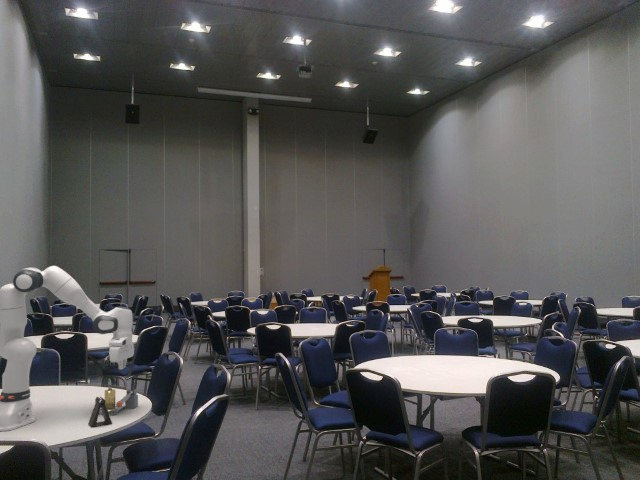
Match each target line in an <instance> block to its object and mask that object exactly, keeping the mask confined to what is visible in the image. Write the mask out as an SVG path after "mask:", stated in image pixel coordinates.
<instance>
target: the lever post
mask: <svg viewBox="0 0 640 480" xmlns="http://www.w3.org/2000/svg"><path fill="white" fill-rule="evenodd" d="M129 391H131V390H130V389H126V395H127V394H128V393H129ZM133 391H134V395H132V396H131V397H130V398H129V399H128V400H127V401H126V402H124V406H125V409H124V410H129V409H132V410H135V409H137V408H138V407H139V395H138V393H137V392H138V391H137V389H134V390H133Z"/></svg>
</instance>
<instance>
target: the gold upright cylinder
mask: <svg viewBox="0 0 640 480" xmlns="http://www.w3.org/2000/svg"><path fill="white" fill-rule="evenodd" d="M107 388H108V389H105V390H104V400H105V406H106V408H107V410H113V409H115V406H116V389H114V388H112V386H108V387H107Z"/></svg>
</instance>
